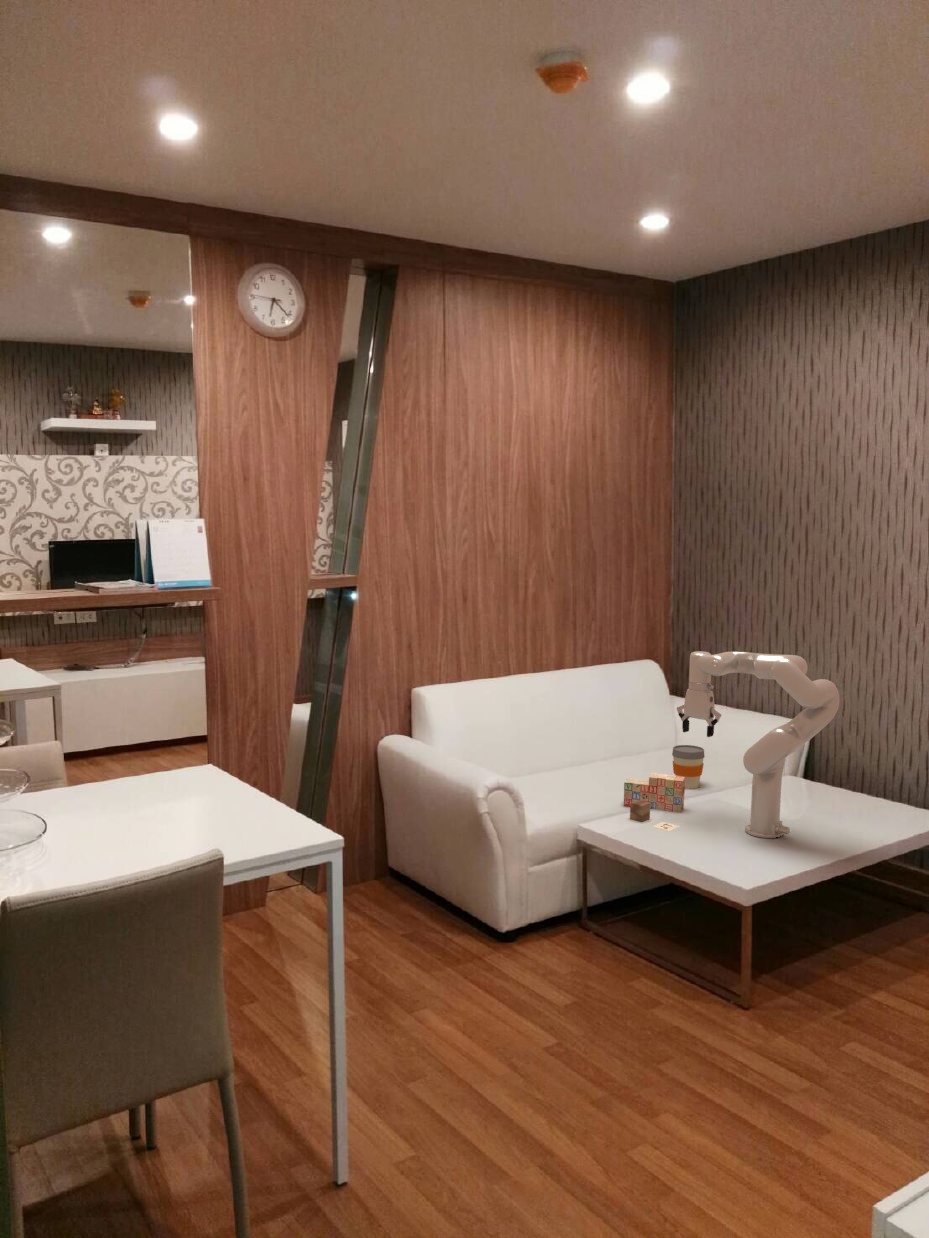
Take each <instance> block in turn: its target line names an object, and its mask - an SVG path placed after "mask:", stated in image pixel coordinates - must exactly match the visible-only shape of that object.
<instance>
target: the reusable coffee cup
mask: <svg viewBox="0 0 929 1238" xmlns="http://www.w3.org/2000/svg"><path fill="white" fill-rule="evenodd" d="M671 753H672V754H671V755H672V769H673V775H676V776H681V777H685V788H686V790H689V789H690V790H693V789H698V788H699V787H700V781H701V776H702V774H703V771H704V759H705V749H704V748H703V747H700V746H698V745H691V744H680V745H675V746H673V747H672V751H671Z"/></svg>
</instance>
